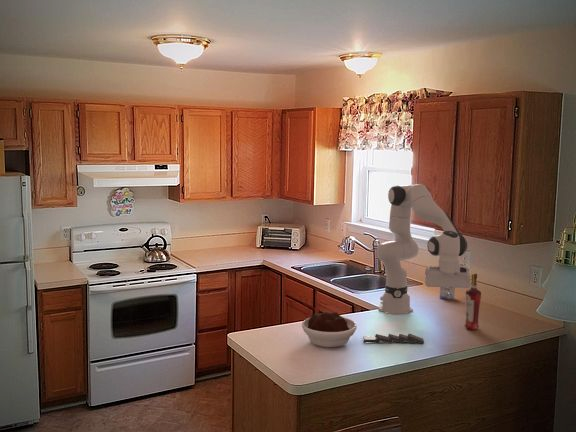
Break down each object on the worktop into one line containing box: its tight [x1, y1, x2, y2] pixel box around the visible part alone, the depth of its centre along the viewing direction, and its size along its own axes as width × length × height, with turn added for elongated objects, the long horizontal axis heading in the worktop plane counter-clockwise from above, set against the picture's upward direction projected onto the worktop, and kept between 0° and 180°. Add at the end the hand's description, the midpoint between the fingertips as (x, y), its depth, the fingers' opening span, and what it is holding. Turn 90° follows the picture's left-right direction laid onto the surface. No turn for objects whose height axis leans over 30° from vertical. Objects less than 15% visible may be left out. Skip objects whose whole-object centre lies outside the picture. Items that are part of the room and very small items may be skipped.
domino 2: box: [375, 333, 393, 344], centre depth 274 cm, size 4×1×7 cm
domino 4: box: [398, 333, 416, 345], centre depth 275 cm, size 4×1×7 cm
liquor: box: [464, 272, 482, 331], centre depth 294 cm, size 7×7×28 cm
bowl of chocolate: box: [301, 311, 357, 348], centre depth 272 cm, size 25×25×15 cm
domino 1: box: [362, 335, 380, 344], centre depth 276 cm, size 4×1×7 cm
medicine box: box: [439, 287, 456, 301], centre depth 349 cm, size 8×4×9 cm, turn 62°
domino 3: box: [387, 333, 406, 344], centre depth 275 cm, size 4×1×7 cm
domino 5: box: [407, 332, 425, 345], centre depth 275 cm, size 4×1×7 cm
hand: (446, 296), depth 272 cm, fingers closed
